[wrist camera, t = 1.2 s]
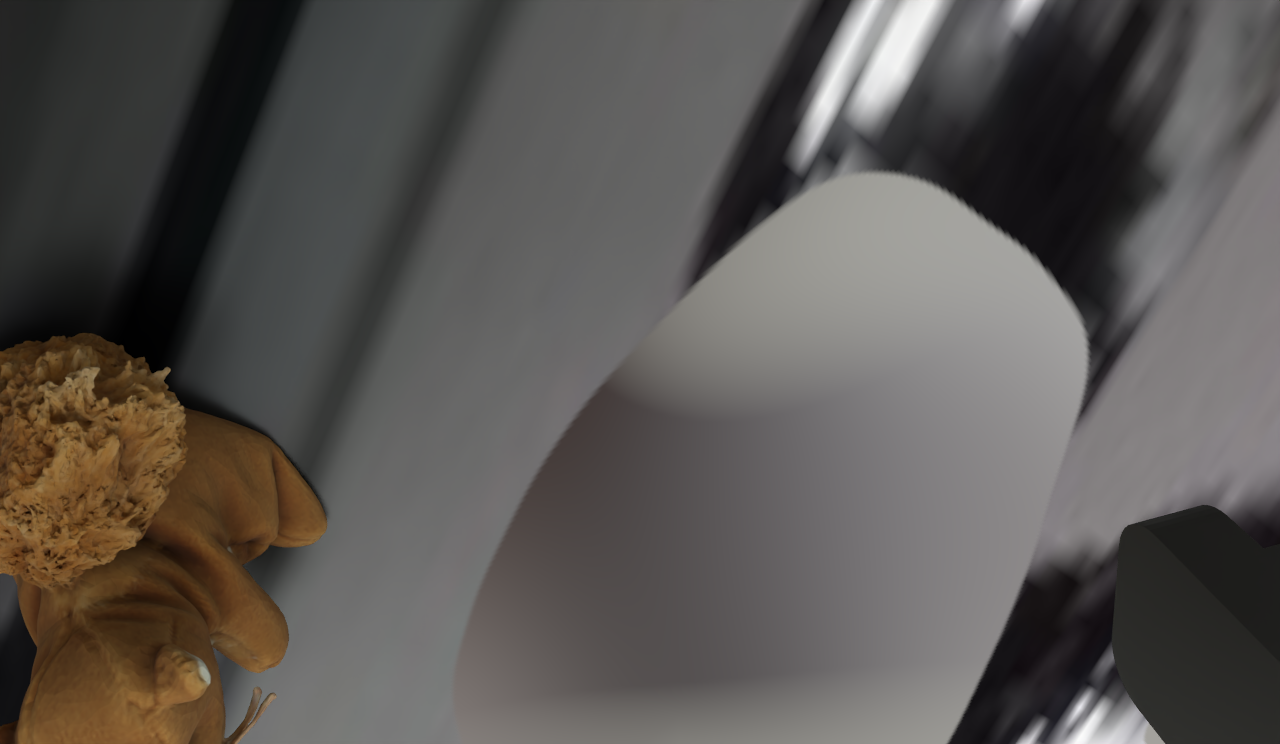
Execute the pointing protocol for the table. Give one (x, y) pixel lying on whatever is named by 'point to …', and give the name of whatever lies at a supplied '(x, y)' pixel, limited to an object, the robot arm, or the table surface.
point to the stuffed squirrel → (136, 547)
